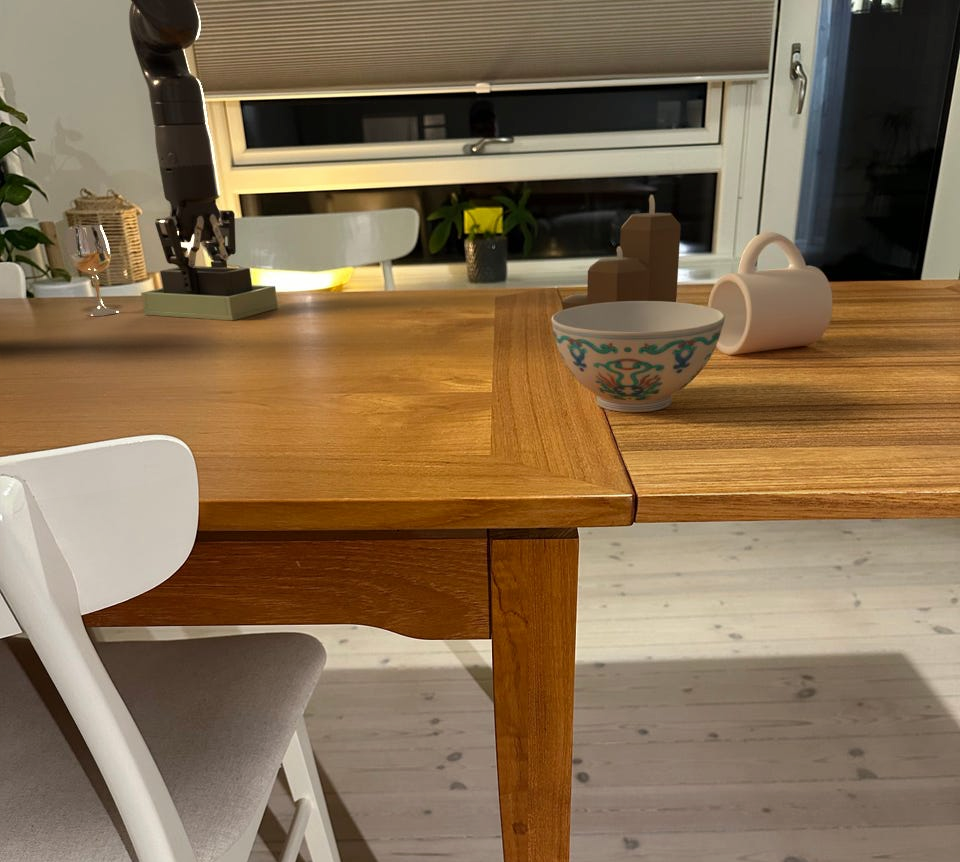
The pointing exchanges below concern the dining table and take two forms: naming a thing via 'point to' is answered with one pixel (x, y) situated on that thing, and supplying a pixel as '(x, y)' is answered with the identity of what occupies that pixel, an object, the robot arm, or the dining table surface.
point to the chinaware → (636, 349)
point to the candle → (637, 263)
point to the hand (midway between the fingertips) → (207, 290)
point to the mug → (771, 301)
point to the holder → (210, 304)
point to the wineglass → (90, 256)
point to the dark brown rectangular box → (210, 281)
